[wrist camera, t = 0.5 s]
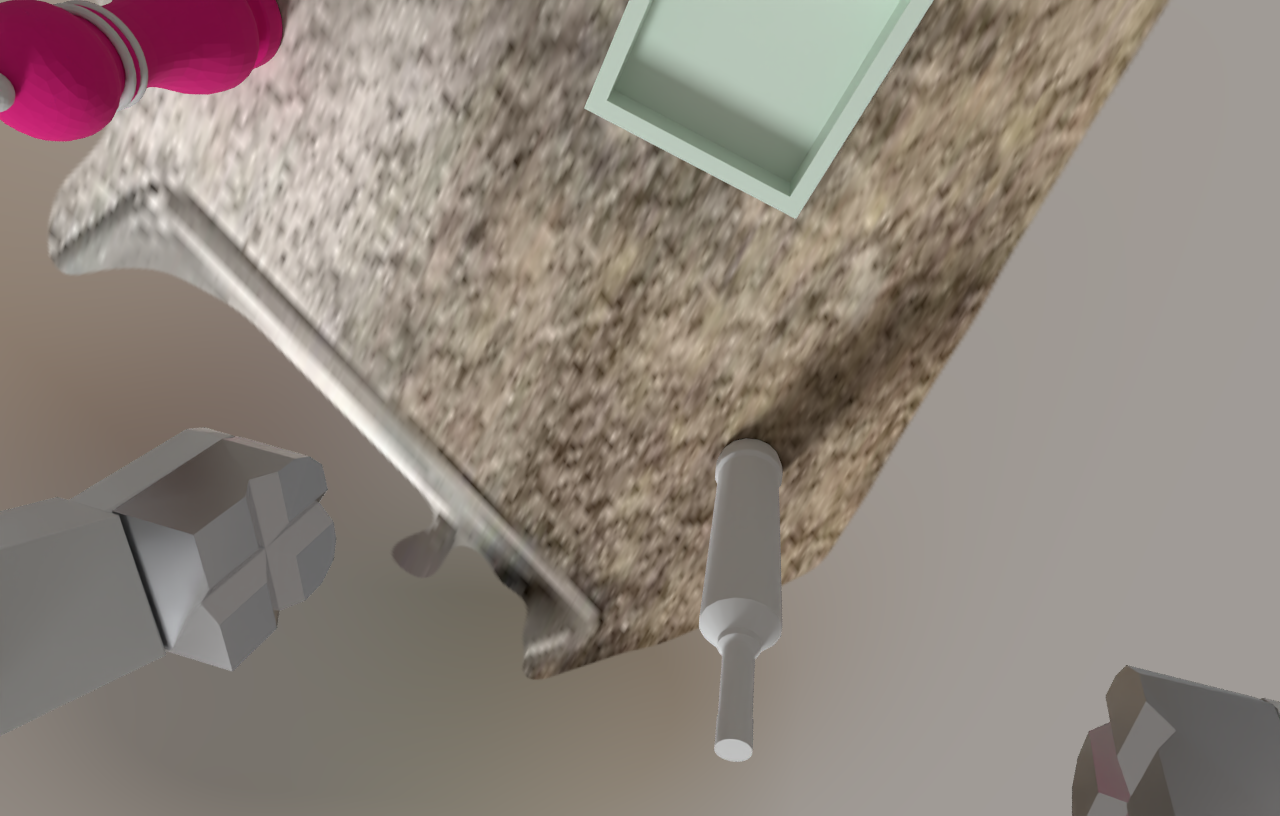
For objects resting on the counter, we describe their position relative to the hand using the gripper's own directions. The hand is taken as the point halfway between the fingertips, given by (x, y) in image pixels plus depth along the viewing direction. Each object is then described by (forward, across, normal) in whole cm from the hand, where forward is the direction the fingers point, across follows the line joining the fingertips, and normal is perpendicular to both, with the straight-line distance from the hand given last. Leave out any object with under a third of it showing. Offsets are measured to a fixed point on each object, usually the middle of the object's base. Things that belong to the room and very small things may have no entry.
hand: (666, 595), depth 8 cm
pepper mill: (+39, +40, -1) cm, 56 cm away
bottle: (+48, +6, +30) cm, 57 cm away
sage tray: (+45, +9, -1) cm, 45 cm away
